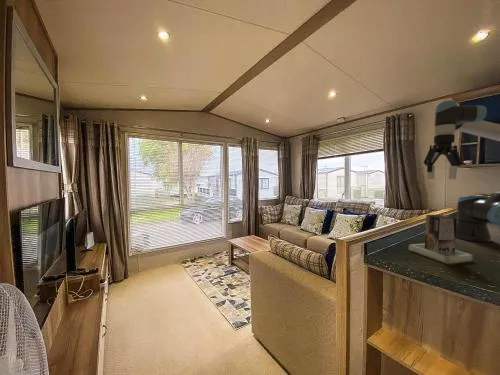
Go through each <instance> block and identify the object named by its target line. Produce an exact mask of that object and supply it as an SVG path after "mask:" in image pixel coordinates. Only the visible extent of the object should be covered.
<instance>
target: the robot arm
mask: <svg viewBox="0 0 500 375" xmlns="http://www.w3.org/2000/svg"><path fill="white" fill-rule="evenodd" d="M457 103H458V102H457V101H456V100H454V99H453V100H452V99H451V100H444V101H441V102H438V103H437V104H436V106H435V112H434V114H435V115H434V116H435V117H434V137H433V144H430V145H429V149H428V152H427V154H426V156H425V158H424V161H423V165H424V166H426V168H427V170H426V171H427V174H426V175H427V176H426V180H435V172H436V171H435V170H436V165H434V164H435V163H436V162H437V160H438V159H439V158H440V157H441V156H445V157H446V159H447V160H448V162H449V164H450V165H449V169H448V171H449V172H448V180H457V171H458V166H461V165H462V160H461V157H460V154H459V152H458V145H456V144H455V145H452V144H453V143H454V142H455V136H456V131H457V132H461V133H465V134H469V135H472V136H477V137H481V138H484V139H485V138H486V139H489V140H494V141H496V142H500V123H495V122H491V121H487V120H484V119H485V118H486V117H487V113H488V110H487V107H486V106H484V105H480V104H478V105H477V104H475V105H458V104H457ZM457 199H458V200H457V213H456V215H457V216H456V218H457V224H456V239H460V240H464V241H470V242H475V243H490V242H492V236H491V232H490V230H489V228H488V227H489V226H488V224H492V225H496V226H500V190H499V191H494V192H492V193H491V194H490V195H489V196H488V195H479V194H478V195H476V194H474V195H461V196H459V197H458V198H457Z"/></svg>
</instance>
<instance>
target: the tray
mask: <svg viewBox="0 0 500 375" xmlns="http://www.w3.org/2000/svg"><path fill="white" fill-rule="evenodd" d="M408 251H409V252H413V253H415V254H418V255H421V256H424V257H426V258H430V259H432V260H434V261H438V262H441V263H443V264H446V265H448V264H449V265H450V264H451V265H453V264H459V263H460V264H461V263H469V262H474V254H471V253H468V252H465V251H461V250H457V249H455V256H444V255H441V254H438V253H435V252H432V251H429V250H426V249H425V242H423V243H413V244H408Z"/></svg>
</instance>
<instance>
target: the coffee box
mask: <svg viewBox="0 0 500 375" xmlns="http://www.w3.org/2000/svg"><path fill="white" fill-rule="evenodd" d="M456 224H457V217H452V216H448V215H443V214H426V215H425V232H424V233H425V235H424V236H425V237H424V243H425V249H426V250H429V251H432V252H435V253H438V254H441V255H444V256H455V250H456V240H457V238H456Z"/></svg>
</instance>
